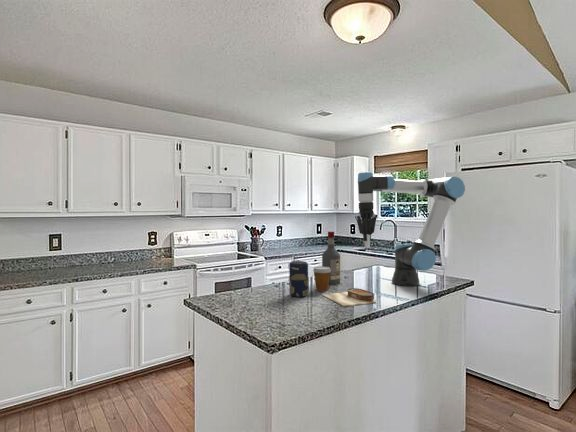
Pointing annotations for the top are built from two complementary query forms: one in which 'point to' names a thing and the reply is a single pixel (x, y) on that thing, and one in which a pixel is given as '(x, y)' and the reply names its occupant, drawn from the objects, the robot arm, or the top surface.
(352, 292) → the tin
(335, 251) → the liquor
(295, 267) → the canister
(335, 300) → the oak board
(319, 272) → the disposable coffee cup
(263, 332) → the top surface
